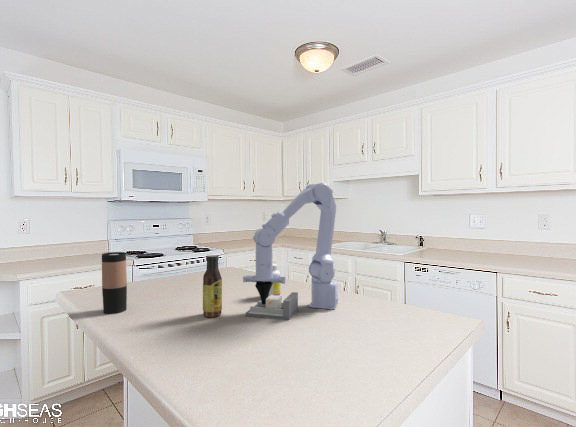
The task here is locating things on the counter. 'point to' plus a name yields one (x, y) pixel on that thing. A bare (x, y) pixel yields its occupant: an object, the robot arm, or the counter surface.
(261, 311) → the board
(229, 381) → the counter surface
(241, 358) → the counter surface
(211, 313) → the sauce bottle
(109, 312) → the travel mug
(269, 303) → the block
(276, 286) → the supplement bottle
